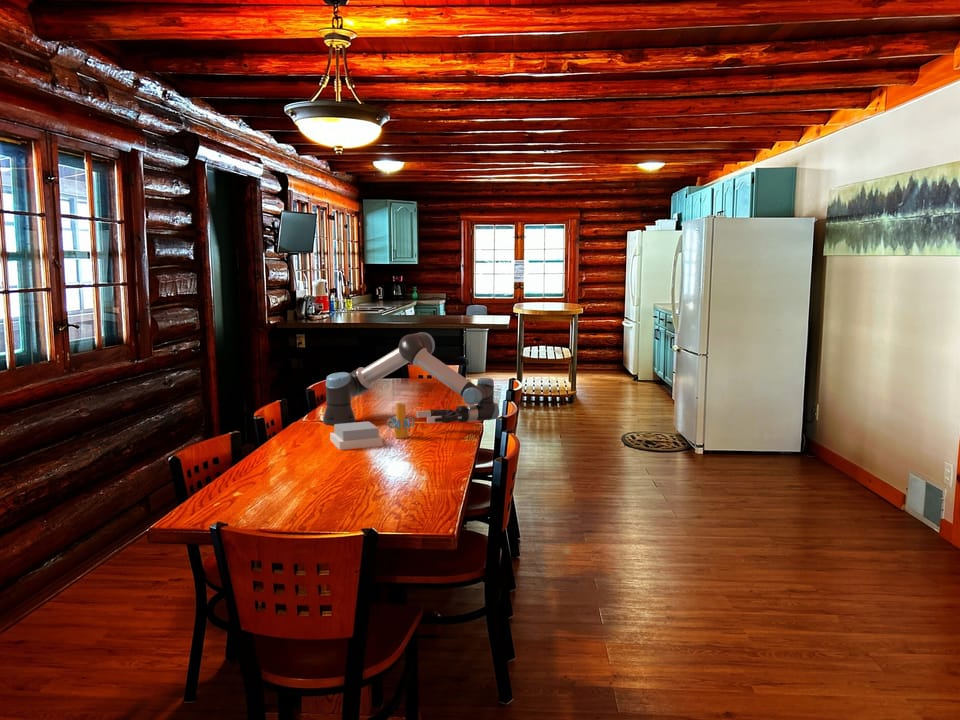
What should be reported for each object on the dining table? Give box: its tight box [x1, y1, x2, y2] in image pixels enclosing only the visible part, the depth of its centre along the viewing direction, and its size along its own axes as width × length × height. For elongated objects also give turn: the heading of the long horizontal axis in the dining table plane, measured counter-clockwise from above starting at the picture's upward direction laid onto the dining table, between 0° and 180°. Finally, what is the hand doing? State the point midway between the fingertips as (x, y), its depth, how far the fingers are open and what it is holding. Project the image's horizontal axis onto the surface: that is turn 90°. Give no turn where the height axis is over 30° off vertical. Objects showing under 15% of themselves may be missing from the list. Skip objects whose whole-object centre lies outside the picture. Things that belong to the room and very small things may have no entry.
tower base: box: [329, 432, 383, 451], centre depth 305 cm, size 18×18×4 cm
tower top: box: [333, 421, 380, 441], centre depth 305 cm, size 15×15×4 cm
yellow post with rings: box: [387, 402, 416, 440], centre depth 316 cm, size 12×10×15 cm
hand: (422, 417), depth 320 cm, fingers open, 13 cm apart
